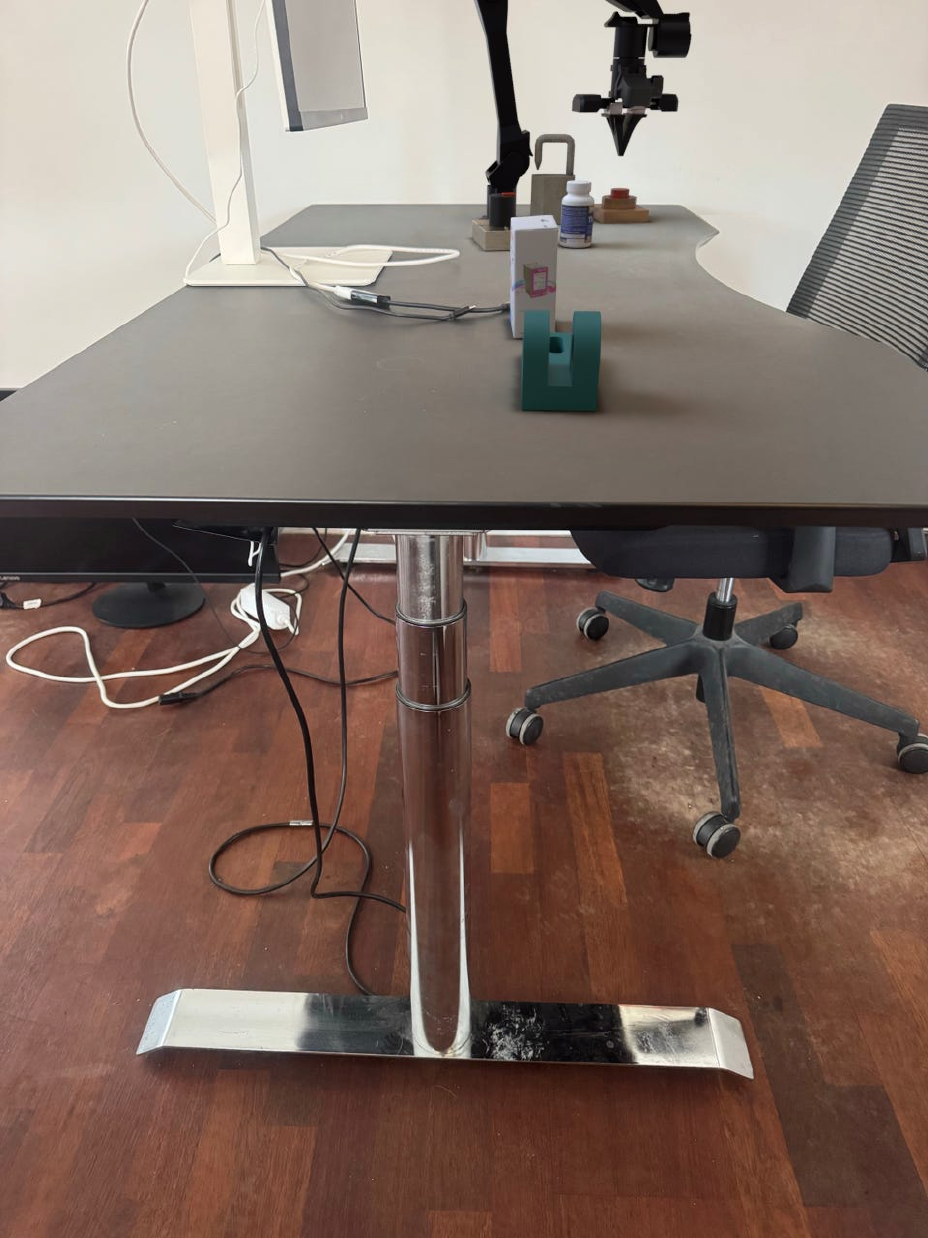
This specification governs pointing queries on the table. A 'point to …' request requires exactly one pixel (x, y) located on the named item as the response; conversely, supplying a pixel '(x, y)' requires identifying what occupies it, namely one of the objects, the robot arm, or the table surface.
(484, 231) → the beige flat rectangular block
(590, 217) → the pill bottle
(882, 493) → the table surface
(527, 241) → the ink box
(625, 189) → the button
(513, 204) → the knob
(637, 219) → the wooden button base
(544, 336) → the bracket
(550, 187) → the padlock
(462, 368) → the table surface
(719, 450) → the table surface
